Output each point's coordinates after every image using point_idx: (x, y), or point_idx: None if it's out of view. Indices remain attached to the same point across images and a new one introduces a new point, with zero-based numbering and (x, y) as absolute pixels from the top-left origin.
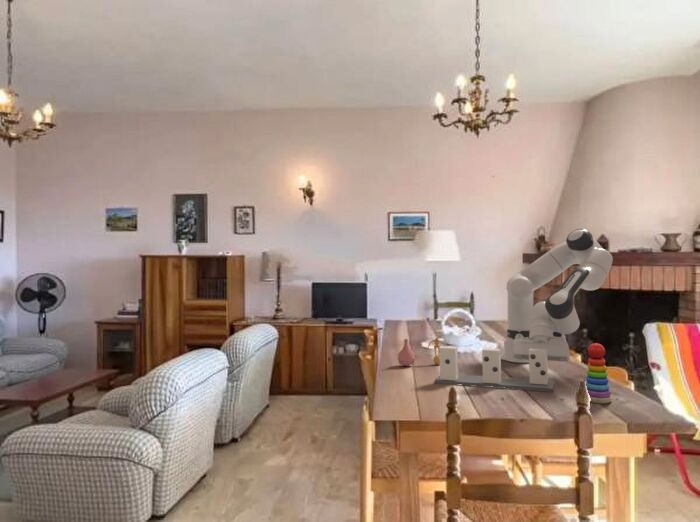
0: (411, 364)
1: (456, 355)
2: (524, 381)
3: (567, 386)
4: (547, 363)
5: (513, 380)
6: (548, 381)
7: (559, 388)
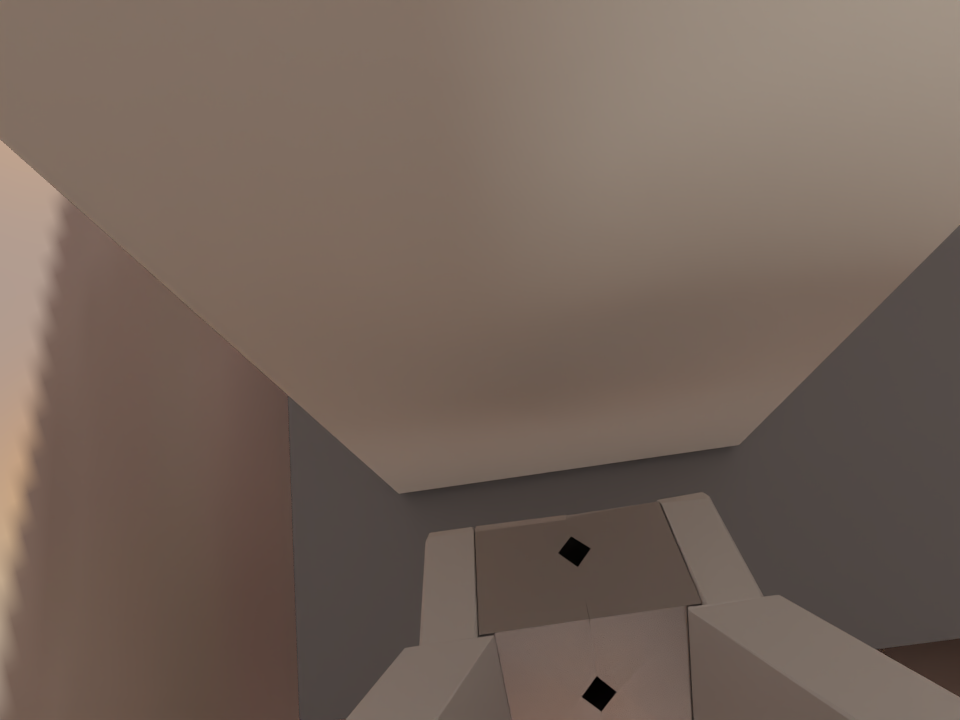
0: None
1: None
2: (847, 397)
3: (87, 638)
4: (252, 347)
5: None
6: (409, 618)
7: (217, 422)
